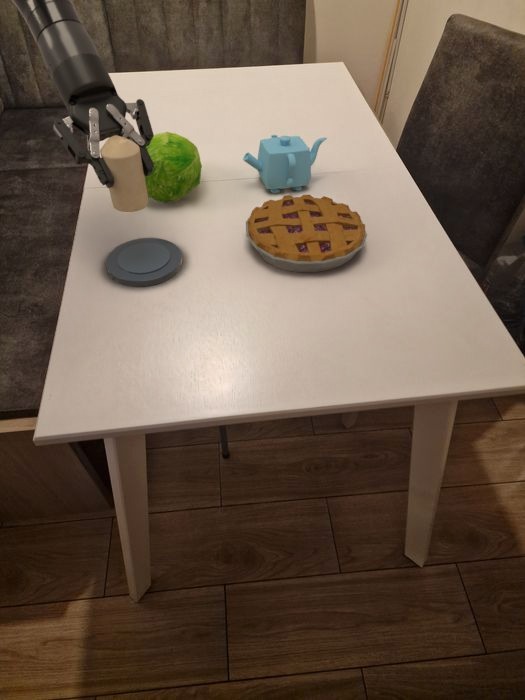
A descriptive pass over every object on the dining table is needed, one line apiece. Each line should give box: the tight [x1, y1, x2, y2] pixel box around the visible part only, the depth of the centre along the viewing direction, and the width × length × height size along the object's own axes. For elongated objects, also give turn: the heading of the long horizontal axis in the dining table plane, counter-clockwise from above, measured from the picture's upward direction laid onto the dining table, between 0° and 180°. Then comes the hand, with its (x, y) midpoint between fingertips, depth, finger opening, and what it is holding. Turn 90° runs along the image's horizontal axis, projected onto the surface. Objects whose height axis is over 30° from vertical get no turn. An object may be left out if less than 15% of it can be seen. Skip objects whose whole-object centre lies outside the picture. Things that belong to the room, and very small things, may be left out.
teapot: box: [242, 134, 328, 194], centre depth 103 cm, size 18×14×10 cm
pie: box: [245, 194, 368, 273], centre depth 88 cm, size 22×22×5 cm
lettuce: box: [144, 131, 203, 204], centre depth 100 cm, size 14×20×12 cm
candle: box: [100, 135, 149, 213], centre depth 72 cm, size 6×6×10 cm
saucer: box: [105, 237, 183, 288], centre depth 84 cm, size 13×13×1 cm
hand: (130, 179), depth 71 cm, fingers closed on candle, 5 cm apart
